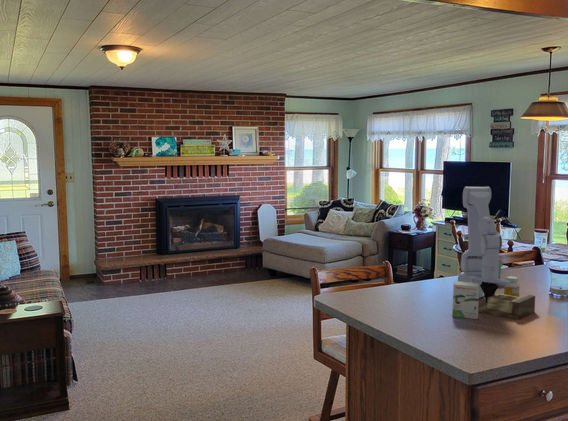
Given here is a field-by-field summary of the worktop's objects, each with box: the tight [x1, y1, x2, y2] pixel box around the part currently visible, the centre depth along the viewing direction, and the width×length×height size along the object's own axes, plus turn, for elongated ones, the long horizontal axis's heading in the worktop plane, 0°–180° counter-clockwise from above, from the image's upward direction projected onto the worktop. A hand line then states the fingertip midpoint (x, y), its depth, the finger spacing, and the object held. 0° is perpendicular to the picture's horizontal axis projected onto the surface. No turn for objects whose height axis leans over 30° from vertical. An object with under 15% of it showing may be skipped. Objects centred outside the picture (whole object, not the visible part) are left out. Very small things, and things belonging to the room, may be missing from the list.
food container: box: [498, 259, 504, 279], centre depth 246 cm, size 12×6×10 cm, turn 168°
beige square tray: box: [487, 293, 522, 313], centre depth 198 cm, size 9×9×4 cm
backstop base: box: [478, 294, 536, 321], centre depth 200 cm, size 19×14×6 cm
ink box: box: [451, 280, 480, 320], centre depth 192 cm, size 9×5×12 cm, turn 73°
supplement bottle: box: [503, 275, 521, 297], centre depth 211 cm, size 5×5×10 cm
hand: (488, 302), depth 203 cm, fingers closed
